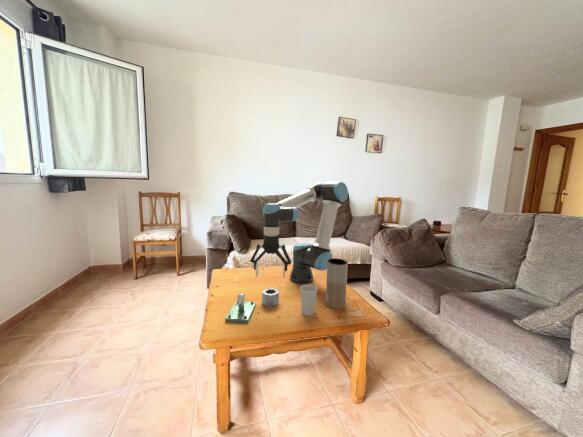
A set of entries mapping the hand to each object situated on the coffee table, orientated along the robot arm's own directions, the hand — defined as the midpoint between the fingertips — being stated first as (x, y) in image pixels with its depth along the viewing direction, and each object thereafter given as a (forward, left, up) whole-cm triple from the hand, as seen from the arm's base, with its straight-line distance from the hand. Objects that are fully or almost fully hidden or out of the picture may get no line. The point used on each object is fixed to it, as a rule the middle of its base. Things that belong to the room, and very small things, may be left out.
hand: (270, 276), depth 119 cm
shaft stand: (+12, +11, -14) cm, 21 cm away
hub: (0, 0, -14) cm, 14 cm away
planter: (-33, -2, -14) cm, 36 cm away
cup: (-19, +7, -14) cm, 25 cm away
